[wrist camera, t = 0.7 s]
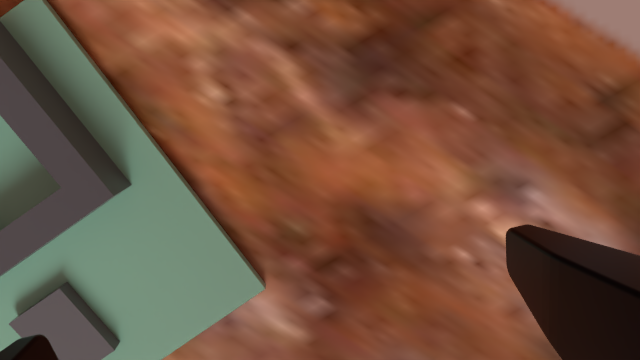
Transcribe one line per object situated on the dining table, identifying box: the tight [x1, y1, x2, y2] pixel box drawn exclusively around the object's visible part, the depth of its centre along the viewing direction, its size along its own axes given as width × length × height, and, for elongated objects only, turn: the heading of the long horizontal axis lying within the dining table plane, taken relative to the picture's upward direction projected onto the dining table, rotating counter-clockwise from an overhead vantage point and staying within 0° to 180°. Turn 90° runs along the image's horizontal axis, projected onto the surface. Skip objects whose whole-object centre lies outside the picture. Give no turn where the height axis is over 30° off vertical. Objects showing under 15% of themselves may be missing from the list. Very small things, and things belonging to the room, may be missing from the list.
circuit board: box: [0, 0, 266, 360], centre depth 21 cm, size 17×13×3 cm
